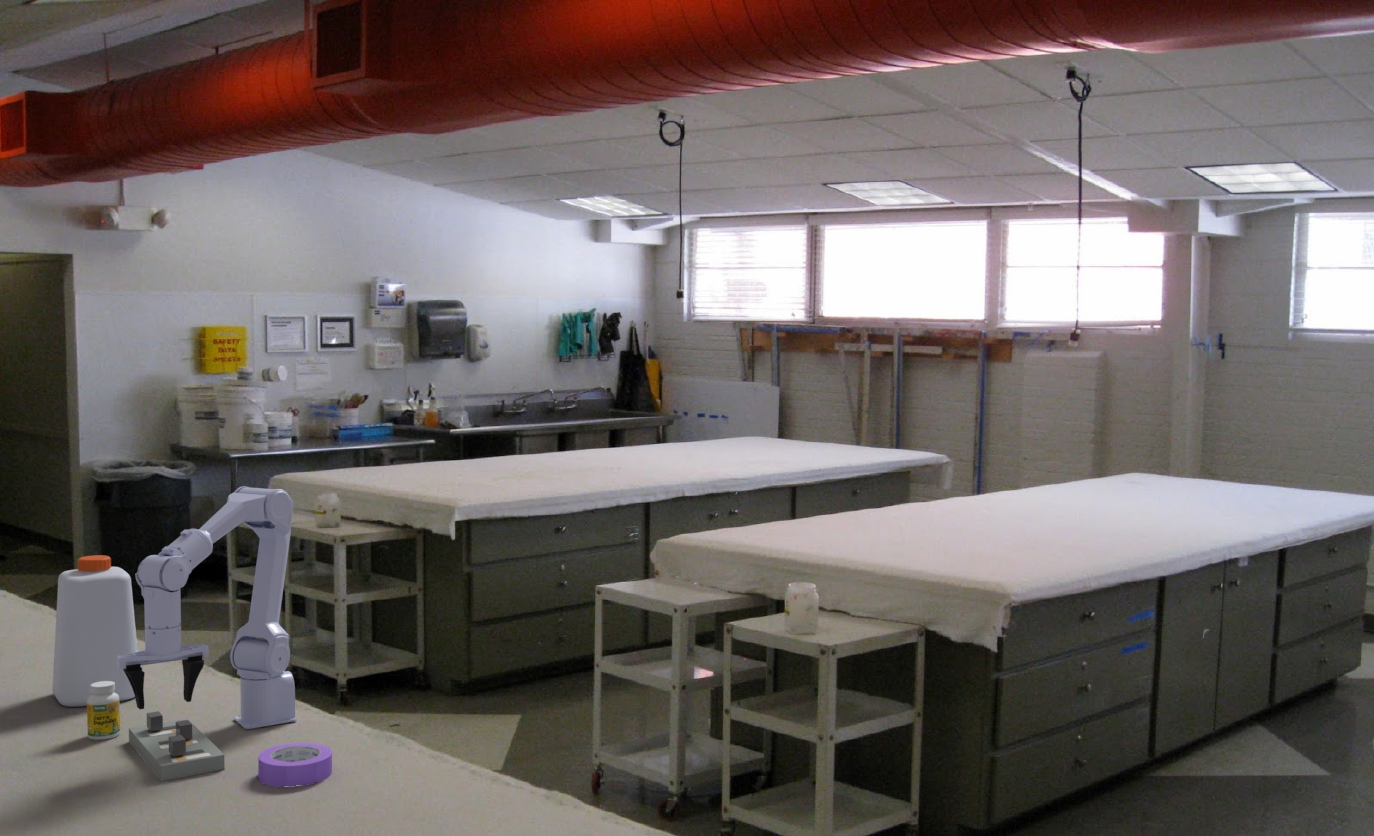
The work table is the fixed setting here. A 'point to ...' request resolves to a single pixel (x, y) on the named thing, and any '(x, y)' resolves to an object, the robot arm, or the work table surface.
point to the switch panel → (165, 766)
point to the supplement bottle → (103, 711)
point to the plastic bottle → (92, 630)
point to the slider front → (177, 745)
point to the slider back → (154, 721)
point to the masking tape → (294, 764)
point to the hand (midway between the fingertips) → (164, 703)
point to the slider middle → (184, 729)
